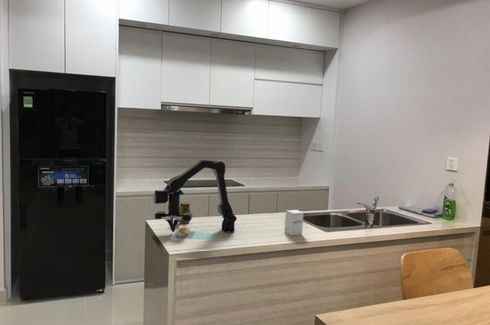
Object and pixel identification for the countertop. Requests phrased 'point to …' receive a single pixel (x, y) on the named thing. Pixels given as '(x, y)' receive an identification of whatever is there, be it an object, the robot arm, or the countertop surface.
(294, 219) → the supplement box
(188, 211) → the condiment
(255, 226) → the countertop surface
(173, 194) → the robot arm
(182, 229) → the beech block
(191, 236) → the runner mat
